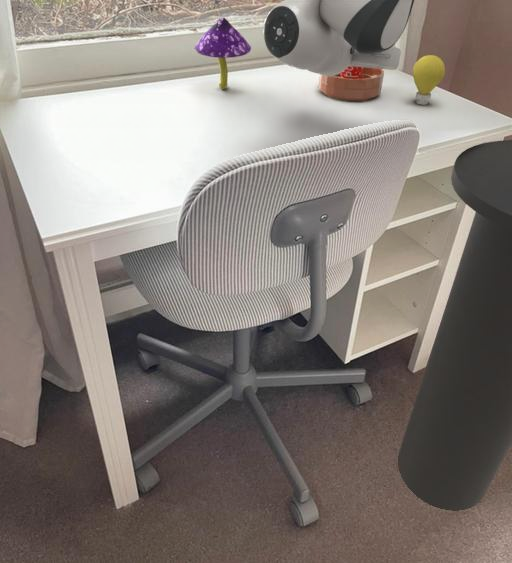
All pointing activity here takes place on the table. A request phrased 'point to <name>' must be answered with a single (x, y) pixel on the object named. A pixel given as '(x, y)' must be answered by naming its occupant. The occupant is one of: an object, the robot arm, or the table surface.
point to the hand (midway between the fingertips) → (361, 59)
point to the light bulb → (427, 76)
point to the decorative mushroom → (222, 46)
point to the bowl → (353, 85)
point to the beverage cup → (352, 72)
